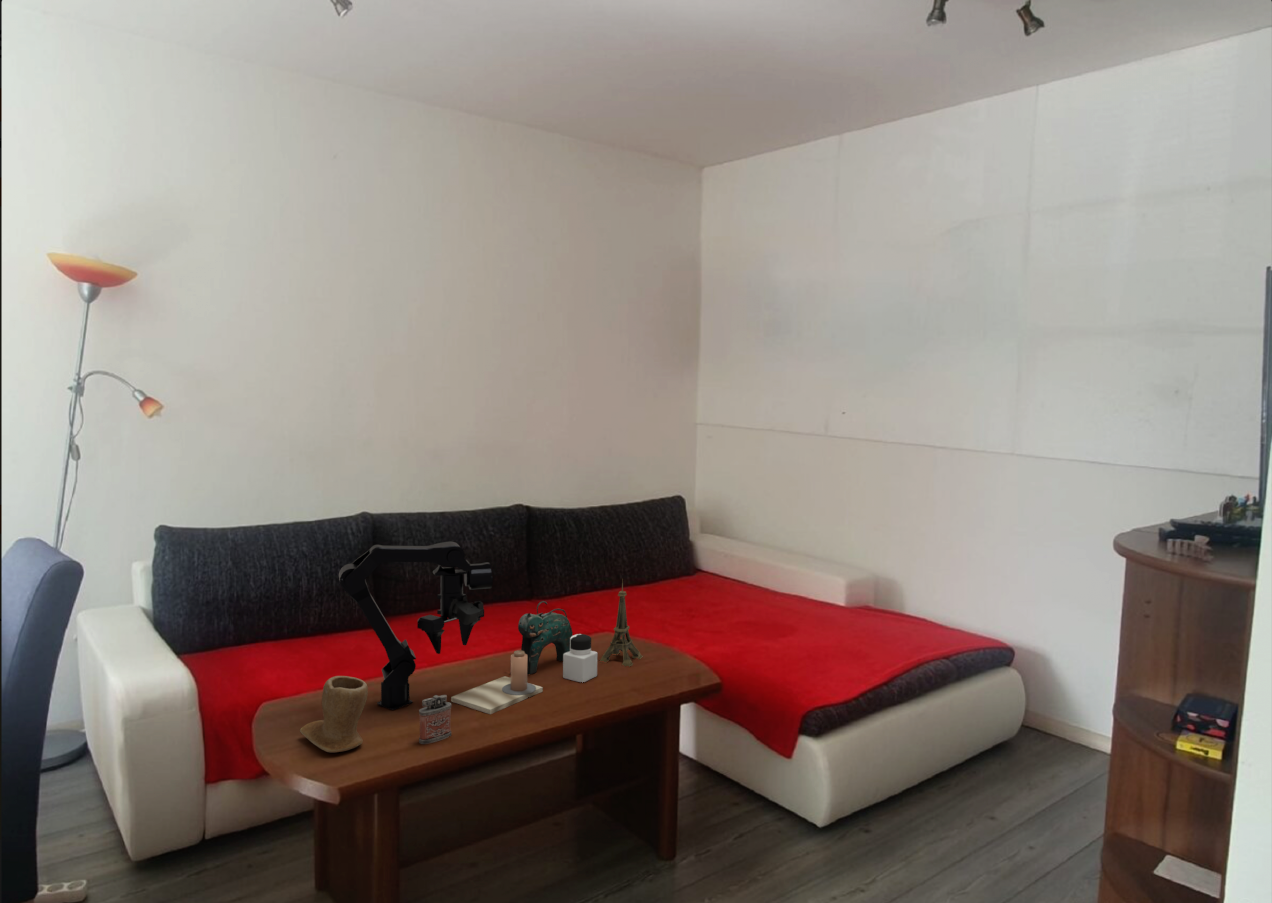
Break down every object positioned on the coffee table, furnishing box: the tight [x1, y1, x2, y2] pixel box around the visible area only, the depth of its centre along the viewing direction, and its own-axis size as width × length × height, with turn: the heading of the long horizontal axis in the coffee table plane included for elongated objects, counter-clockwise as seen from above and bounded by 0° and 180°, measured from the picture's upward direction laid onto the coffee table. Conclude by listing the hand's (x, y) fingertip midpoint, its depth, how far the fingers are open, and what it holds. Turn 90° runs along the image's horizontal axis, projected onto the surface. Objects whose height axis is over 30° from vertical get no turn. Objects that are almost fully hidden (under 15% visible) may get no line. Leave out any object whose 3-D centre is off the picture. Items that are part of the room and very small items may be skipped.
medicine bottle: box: [562, 633, 598, 684], centre depth 240 cm, size 7×7×12 cm
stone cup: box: [299, 675, 369, 753], centre depth 193 cm, size 15×12×15 cm
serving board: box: [450, 675, 544, 715], centre depth 224 cm, size 20×14×1 cm
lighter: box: [418, 694, 452, 745], centre depth 197 cm, size 8×3×10 cm, turn 135°
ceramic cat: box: [517, 600, 574, 675], centre depth 248 cm, size 20×6×20 cm, turn 141°
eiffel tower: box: [599, 578, 644, 668], centre depth 256 cm, size 11×11×25 cm
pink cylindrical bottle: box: [510, 649, 528, 691], centre depth 226 cm, size 4×4×10 cm
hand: (451, 649), depth 222 cm, fingers open, 9 cm apart
